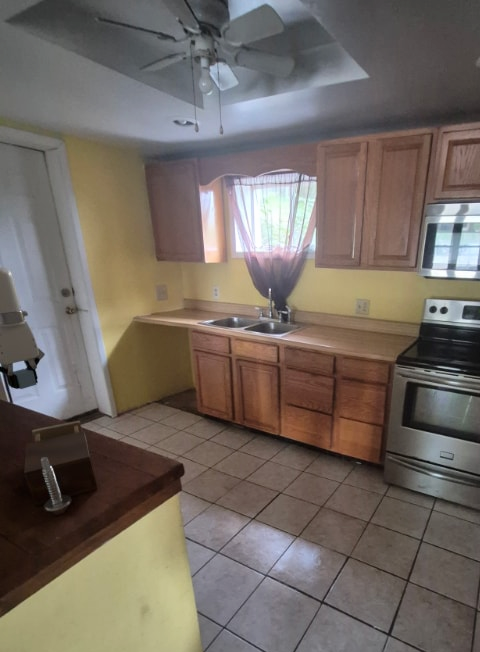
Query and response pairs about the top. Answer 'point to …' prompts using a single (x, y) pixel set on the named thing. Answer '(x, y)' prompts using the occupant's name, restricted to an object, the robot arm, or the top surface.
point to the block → (25, 378)
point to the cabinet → (60, 466)
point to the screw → (54, 491)
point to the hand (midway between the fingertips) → (24, 384)
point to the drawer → (56, 431)
